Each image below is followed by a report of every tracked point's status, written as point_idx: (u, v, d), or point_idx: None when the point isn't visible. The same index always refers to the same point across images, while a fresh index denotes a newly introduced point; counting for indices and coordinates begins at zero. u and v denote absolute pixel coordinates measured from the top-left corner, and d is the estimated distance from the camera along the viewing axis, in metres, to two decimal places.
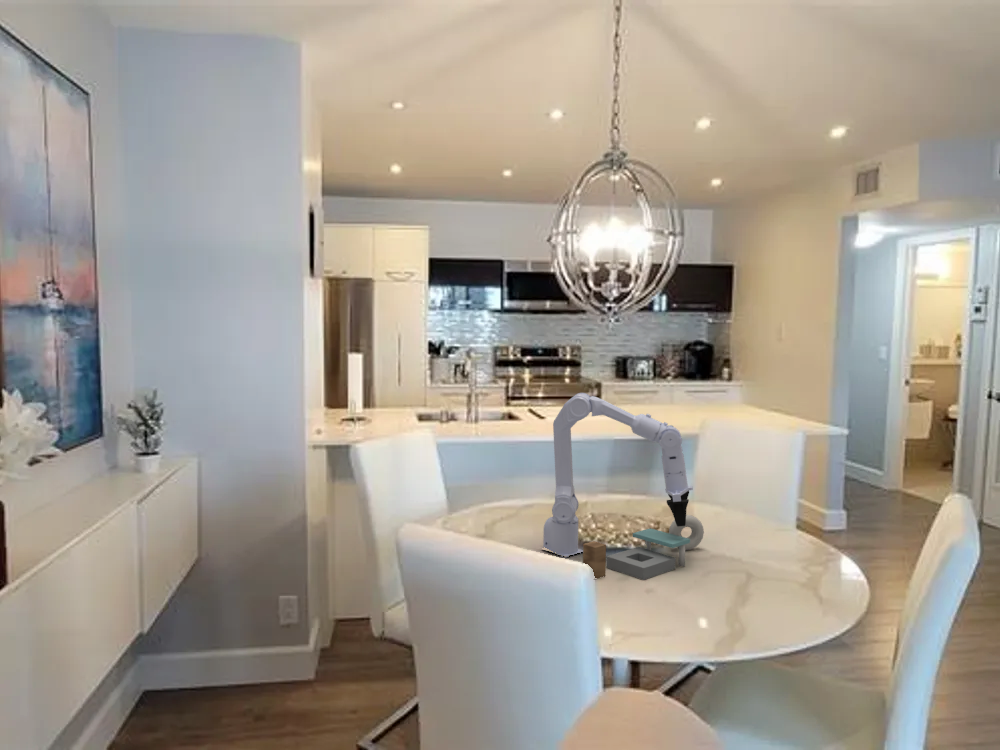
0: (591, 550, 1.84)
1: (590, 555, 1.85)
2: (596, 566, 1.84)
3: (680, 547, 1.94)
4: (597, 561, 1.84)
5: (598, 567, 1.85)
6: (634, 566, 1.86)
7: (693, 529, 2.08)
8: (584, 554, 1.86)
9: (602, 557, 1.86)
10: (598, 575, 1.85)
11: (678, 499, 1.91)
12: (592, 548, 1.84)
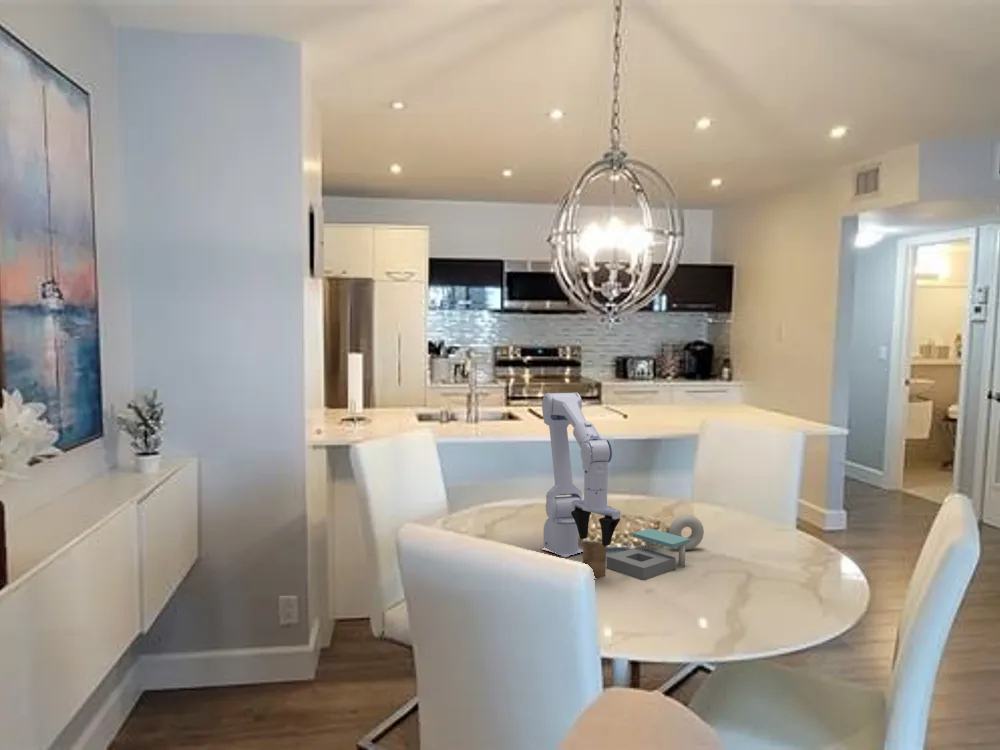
0: (591, 550, 1.84)
1: (590, 555, 1.85)
2: (596, 566, 1.84)
3: (680, 547, 1.94)
4: (597, 561, 1.84)
5: (598, 567, 1.85)
6: (634, 566, 1.86)
7: (693, 529, 2.08)
8: (584, 554, 1.86)
9: (602, 557, 1.86)
10: (598, 575, 1.85)
11: None
12: (592, 548, 1.84)
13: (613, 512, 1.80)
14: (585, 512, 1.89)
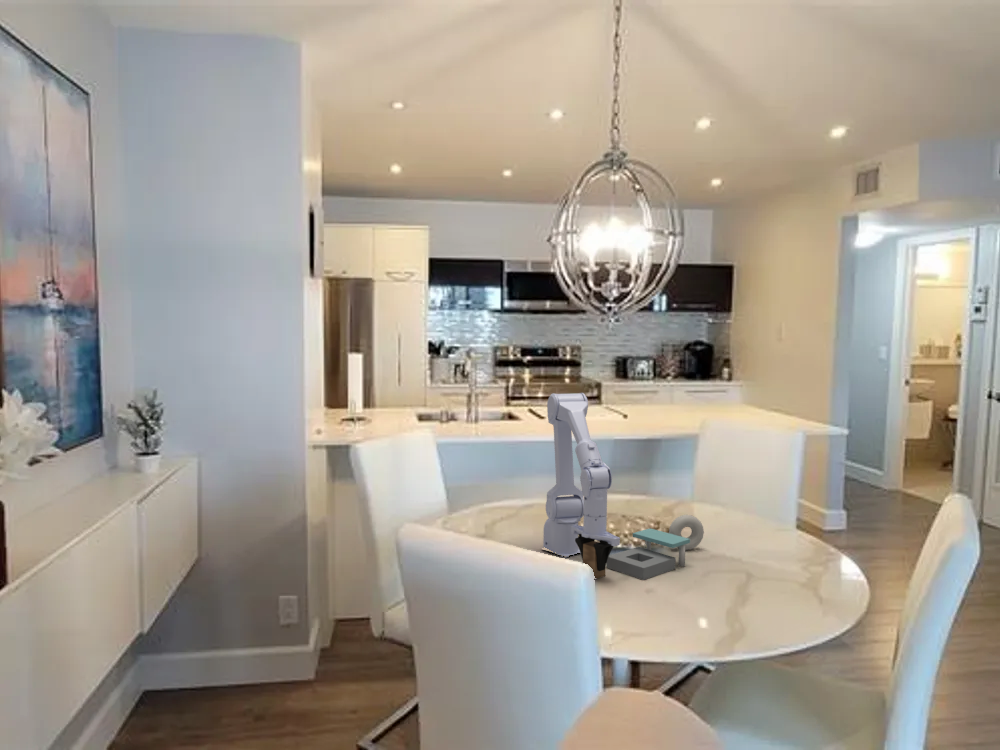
0: (591, 550, 1.84)
1: (590, 555, 1.85)
2: (596, 566, 1.84)
3: (680, 547, 1.94)
4: None
5: None
6: (634, 566, 1.86)
7: (693, 529, 2.08)
8: (584, 554, 1.86)
9: None
10: (598, 575, 1.85)
11: None
12: (592, 548, 1.84)
13: (612, 539, 1.80)
14: (589, 539, 1.88)
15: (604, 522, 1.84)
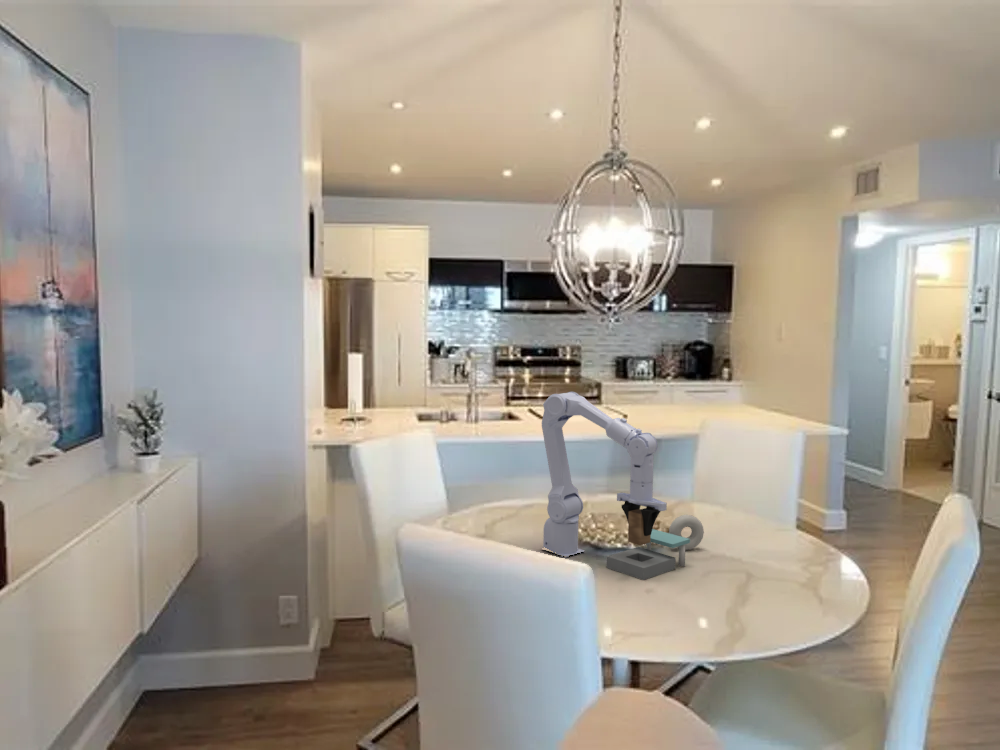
0: (637, 517, 1.89)
1: (636, 522, 1.89)
2: (642, 532, 1.89)
3: (680, 547, 1.94)
4: None
5: (643, 533, 1.89)
6: (634, 566, 1.86)
7: (693, 529, 2.08)
8: (629, 521, 1.91)
9: None
10: (643, 541, 1.90)
11: None
12: (638, 515, 1.89)
13: (660, 504, 1.85)
14: (635, 505, 1.93)
15: (651, 488, 1.89)
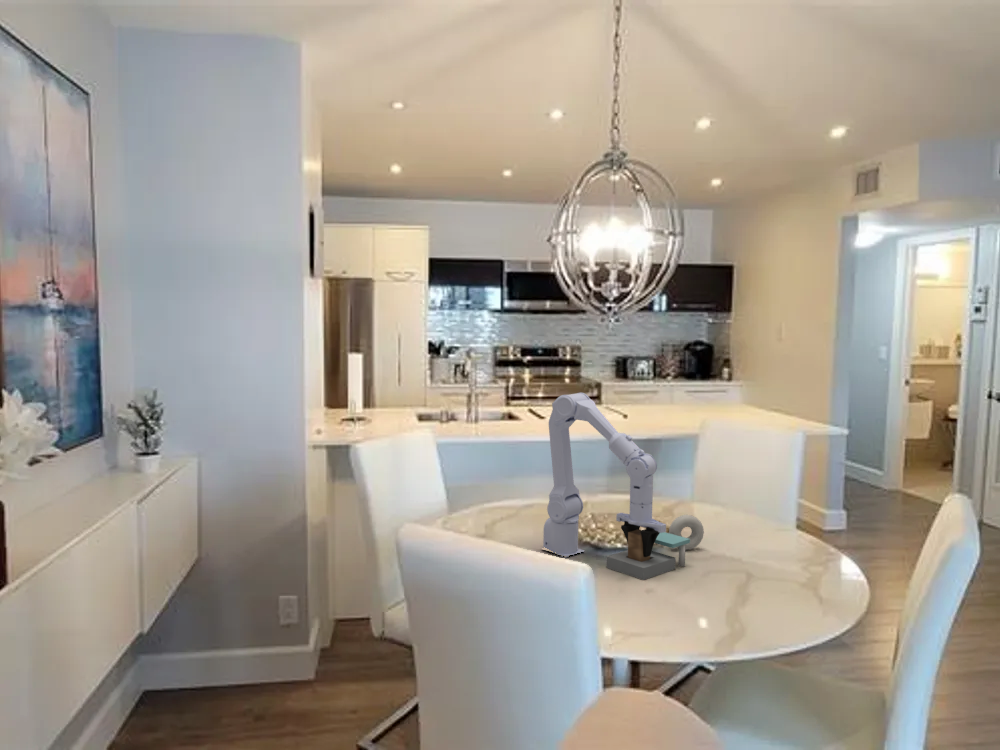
0: (636, 538, 1.89)
1: (635, 543, 1.90)
2: (642, 553, 1.89)
3: (680, 547, 1.94)
4: (642, 549, 1.90)
5: None
6: (634, 566, 1.86)
7: (693, 529, 2.08)
8: (629, 542, 1.91)
9: None
10: None
11: None
12: (637, 536, 1.89)
13: (659, 526, 1.86)
14: (634, 526, 1.94)
15: (650, 509, 1.89)
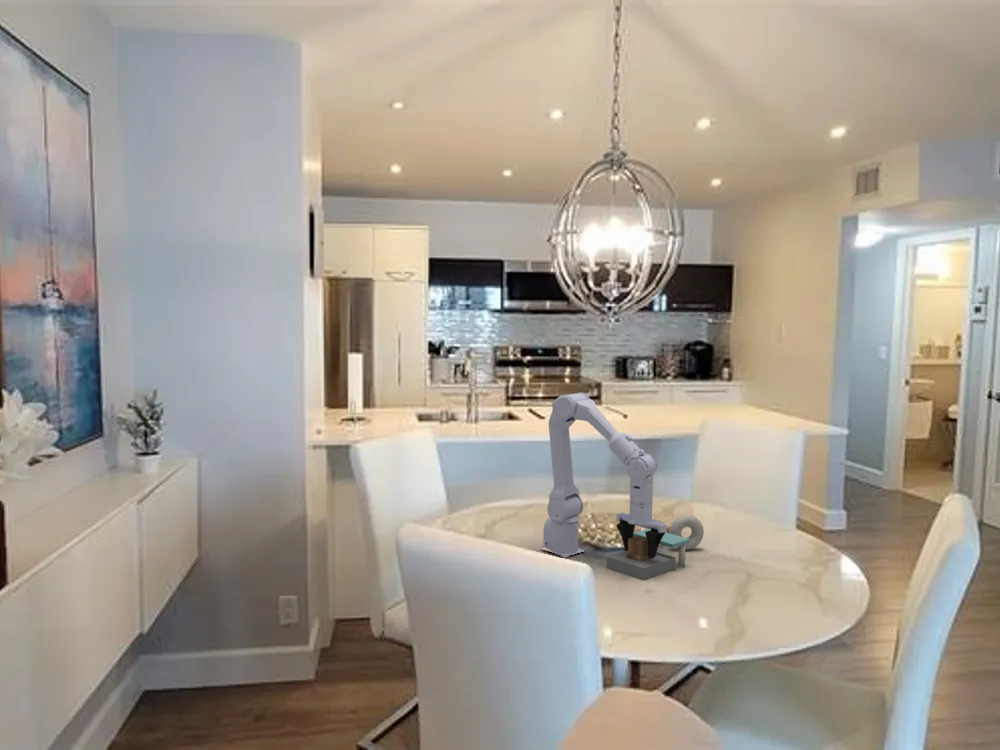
0: (637, 544, 1.90)
1: (635, 549, 1.90)
2: (642, 560, 1.90)
3: (680, 547, 1.94)
4: (642, 555, 1.90)
5: (643, 560, 1.90)
6: (634, 566, 1.86)
7: (693, 529, 2.08)
8: (629, 548, 1.92)
9: (647, 551, 1.91)
10: None
11: None
12: (637, 542, 1.89)
13: (659, 526, 1.86)
14: (630, 525, 1.95)
15: (650, 509, 1.89)
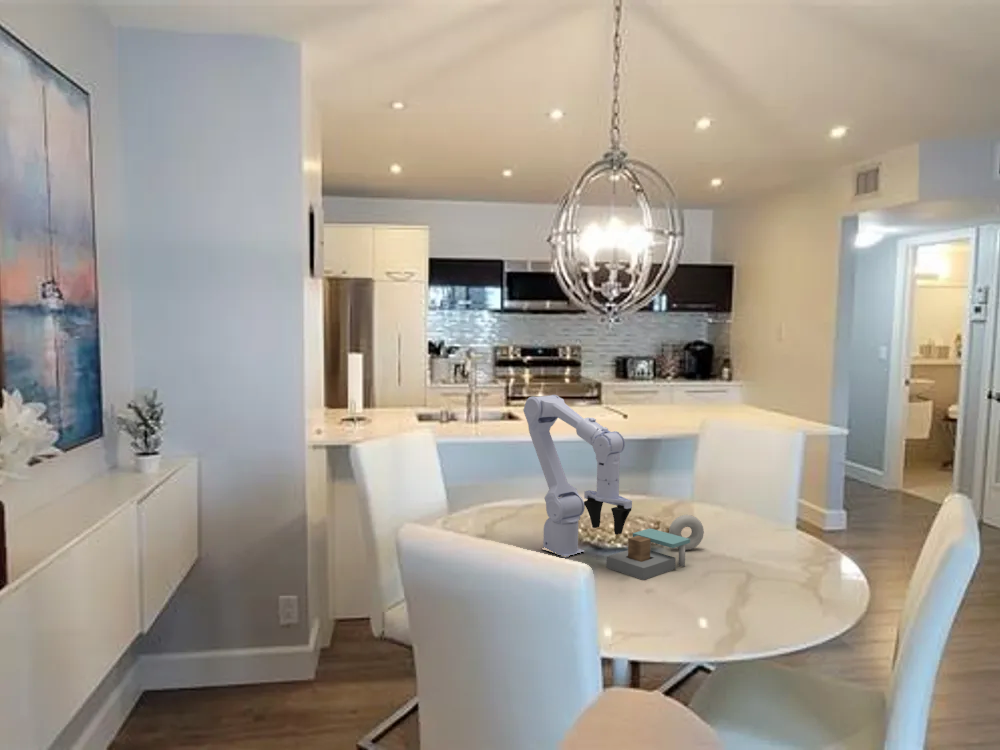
0: (637, 544, 1.90)
1: (636, 549, 1.90)
2: (642, 560, 1.90)
3: (680, 547, 1.94)
4: (642, 555, 1.90)
5: (643, 560, 1.90)
6: (634, 566, 1.86)
7: (693, 529, 2.08)
8: (629, 548, 1.92)
9: (647, 551, 1.91)
10: None
11: None
12: (637, 542, 1.90)
13: (625, 502, 1.87)
14: (597, 502, 1.96)
15: (617, 486, 1.91)
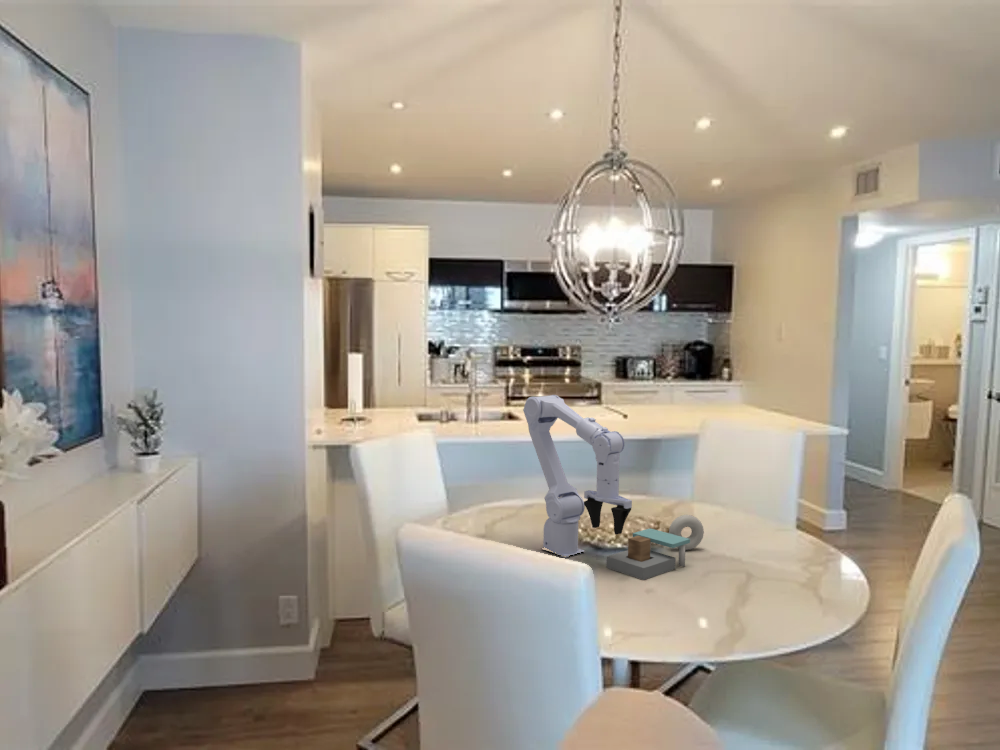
0: (637, 544, 1.90)
1: (636, 549, 1.90)
2: (642, 560, 1.90)
3: (680, 547, 1.94)
4: (642, 555, 1.90)
5: (643, 560, 1.90)
6: (634, 566, 1.86)
7: (693, 529, 2.08)
8: (629, 548, 1.92)
9: (647, 551, 1.91)
10: None
11: None
12: (637, 542, 1.89)
13: (625, 502, 1.87)
14: (597, 502, 1.96)
15: (616, 486, 1.91)
